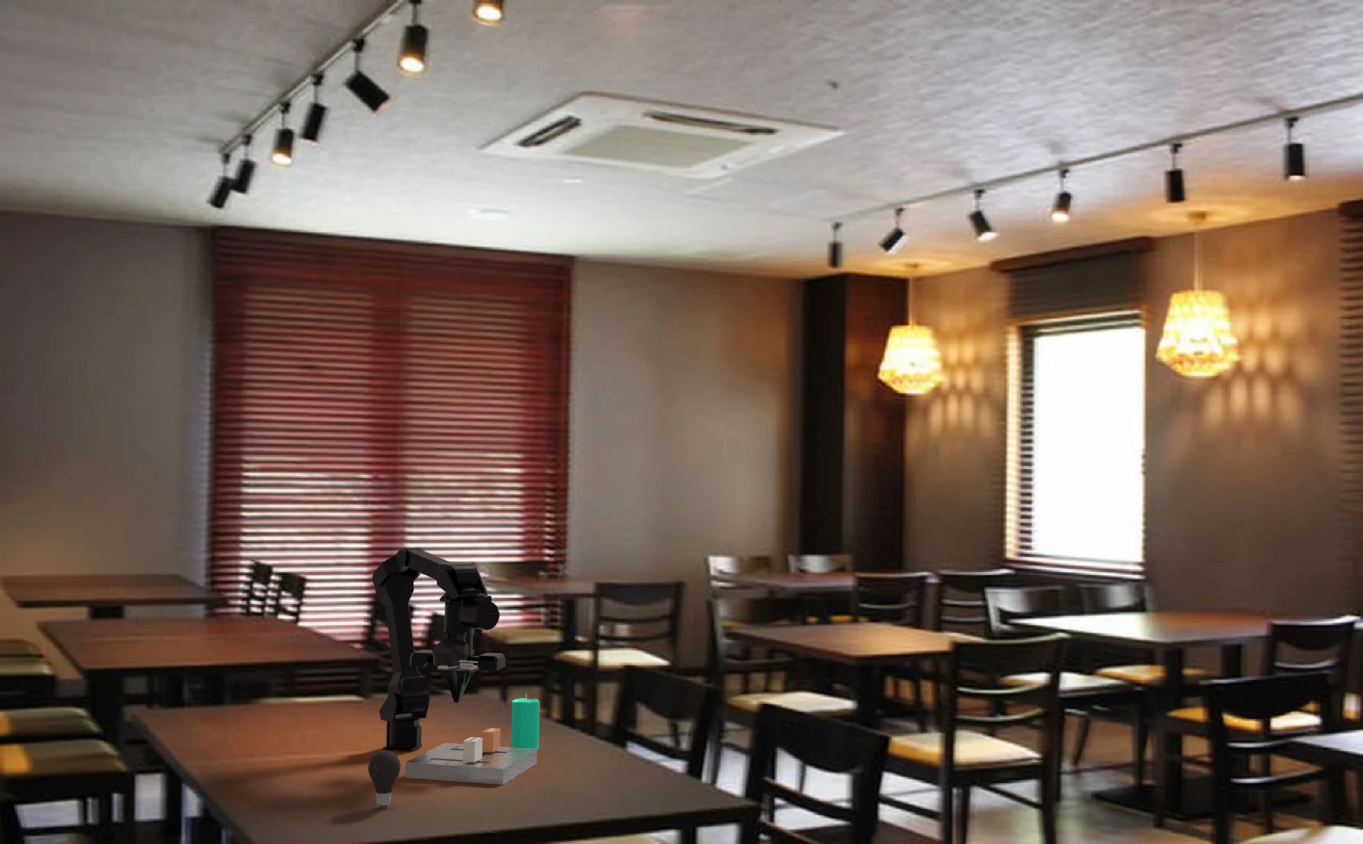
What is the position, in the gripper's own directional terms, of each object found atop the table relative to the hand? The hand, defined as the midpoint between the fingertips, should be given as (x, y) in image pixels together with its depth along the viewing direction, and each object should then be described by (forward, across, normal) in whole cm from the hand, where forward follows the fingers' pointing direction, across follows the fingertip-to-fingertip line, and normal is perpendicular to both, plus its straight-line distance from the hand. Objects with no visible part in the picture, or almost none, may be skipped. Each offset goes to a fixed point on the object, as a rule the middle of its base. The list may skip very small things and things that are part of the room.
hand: (456, 702), depth 286 cm
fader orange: (+12, +8, 0) cm, 15 cm away
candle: (+13, +8, +18) cm, 24 cm away
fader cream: (+12, +8, -10) cm, 18 cm away
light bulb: (+13, +2, -38) cm, 40 cm away
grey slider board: (+12, +6, -5) cm, 14 cm away
